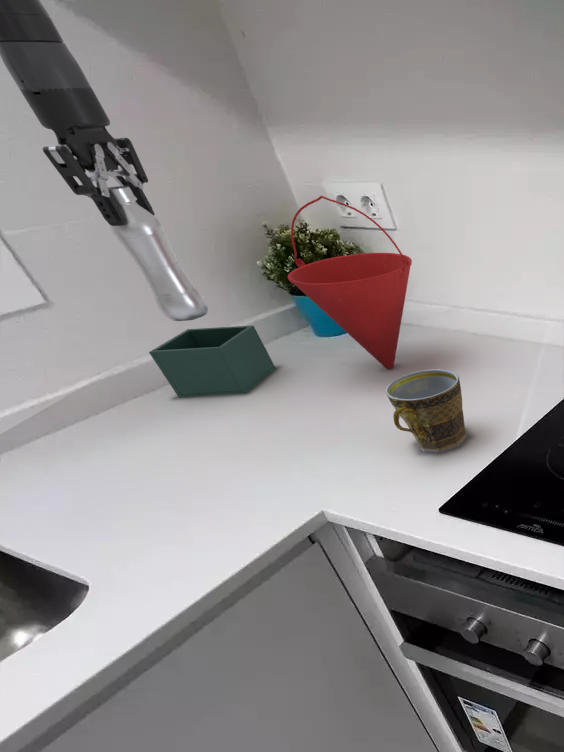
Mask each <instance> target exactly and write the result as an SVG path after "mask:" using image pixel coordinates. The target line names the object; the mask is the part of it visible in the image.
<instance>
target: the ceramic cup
mask: <svg viewBox="0 0 564 752" xmlns="http://www.w3.org/2000/svg"><path fill="white" fill-rule="evenodd" d="M385 395H386V397H387V398H388V400H389V402H390V403H391V405H392V407H393V408H394V412H393V416H392V417H393V423H394V426H395V427H396V429H398V430H400V431H403V432H409V433H410V434H412V435H413V437H414V439H415V441H416V442H417V444H418V445H419V447H420V449H421V451H423V452H424V453H437V454H441V453H444V452H446V451H449V450H453V449H456V448H458V447H459V446H460V445H461V444H462V443H463V442H464V441H465V440H466V438H467V434H466V427H465V416H464V410H463V395H462V387H461V382H460V377H459V375H458V374H457V373H456V372H453V371H451V370H447V369H439V368H438V369H424V370H418V371H414V372H410V373H407V374H405V375H402V376H400V377H398V378H396V379H394V380H392V381H391V382H390V383H389V384H388V385H387V386H386V388H385ZM400 418H401V419H402V420H403V422H404V423H405V424H406V427H408V428H406V427H403V426H401V424H400Z"/></svg>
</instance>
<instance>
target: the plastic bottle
mask: <svg viewBox="0 0 564 752" xmlns="http://www.w3.org/2000/svg"><path fill="white" fill-rule="evenodd" d="M107 187H108V191H109V197H112V198H113V199H114V201H115V203H116V205H117V206H118V208H119V210H120V211H121V213H122V215H123V216H124V218H125V220H126V222H127V224H126V225H122V226H111V225H110V224H109V223H108V225H109V228H110V231H111V233H112V234H113V235H114V236H115V237H116V239H117V240H118V241H119V242H120V244H121V245H122V246H123V247H124V249H125V250H126V251H127V253H128V254H129V255H130V257H131V258H132V260H133V261H134V263H135V264H136V265H137V266H138V269H139V270H140V272H142V275H143V277H144V279H145V280H146V282H147V284H148V286H149V288H150V291H151V292H152V294H153V298H154V301H155V303H156V305H157V307H158V309H159V310H160V312H162V314H163V315H164V316H165V317H166V318H167V319H169V320H171V321H174V322H185V321H189V322H190V321H194V320H196V319H199V318H202V317H204V316H206V315H207V314H208V310H209V307H208V304H207V301H206V299H205V297H203V295H202V293H201V292H200V291H199V290H198V289H197V287H195V285H194V284H193V282H192V281H191V279H190V277H189V276H188V274H187V273H186V272H185V270H184V269H183V267H182V265H181V263H180V262H179V260H178V259H177V258H178V257H177V256H176V254H175V251H174V250H173V247H172V244H171V243H170V240H169V237H168V235H167V233H166V231H165V227H164V225H163V224H162V222H161V221H160V220H159V219H158V217H156V216H155V215H152V214H151V213H150V212H148V211H147V210H145V209H144V208H142V207H141V206H139V205H138V204H137V202H136V201H135V200H137V198H136V196H134V194H133V192H132V191H131V189H130V188H129V186H120V185H117V186H107Z"/></svg>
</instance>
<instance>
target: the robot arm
mask: <svg viewBox="0 0 564 752" xmlns="http://www.w3.org/2000/svg"><path fill="white" fill-rule="evenodd" d="M64 42H65V41H64V39H63V38H62V36H61V34H60V32H59V30H58V29H57V26H56V25H55V23H54V22H53V19H52V17H51V16H50V14H49V13H48V11H47V9H46V8H45V6H44V4H43V3H42V1H41V0H0V59H1V61H2V63H3V64H4V66H5V67H6V70H7V71H8V73H9V74H10V76H11V78H12V79H13V81H14V84H15V85H16V87H17V88H18V89H19V91H20V93H21V94H22V96H23V97H24V99H25V101H26V102H27V104H28V106H29V108H31V110H32V112H33V114H34V115H35V117H36V119H37V120H38V122H39V123H40V125H41V126H42V127H43V128H45V129H48V130H51V131H52V132H53V133H54V135H55V137H56V140H57V144H56V145H50V146H43V147H42V152H43V153H44V154H45V156H46V158H47V159H48V160H49V162H50V163H51V164H52V165H53V166H54V168H55V170H57V172H58V174H59V175H60V176H61V177H62V179H63V180H64V182H66V184H67V185H68V187H69V188H70V189H71V191H72V192H73V194H75V195H77V196H85V197H87V198H90V199H91V200H92V201H93V203H94V205H95V206H96V207H97V209H98V210H99V212H100V214H101V215H102V218H103V219H104V221H106V222H107V224H108V225H109V224H110V225H111V226H122V225H126V224H127V222H126V220H125V218H124V216H123V215H122V213H121V211H120V210H119V208H118V206H117V205H116V203H115V201H114V199H113V198H112V197H109V191H108V187H109V186H108V183H107V181H108V180H109V177H110V178H113V179H114V180H115V182H117V184H118V186H129V188H130V189H131V191H132V192H133V194H134V196H136V198H137V200H135V201H136V202H137V204H138V205H139V206H141V207H142V208H144V209H145V210H147V211H148V212H150V213H151V214H152V215H154V216H155V211H154V209H153V207H152V205H151V203H150V201H149V199H148V198H147V196H146V194H145V192H144V190H143V189H144V184H146V183H149V178H148V177H147V174H146V171H145V169H144V167H143V165H142V163H141V160H140V158H139V156H138V154H137V151H136V149H135V147H134V145H133V143H132V141H131V139H129V138H128V137H114V136H112V135H111V133H110V132H109V131H108V130H107V128H106V127H109V126H110V125H111V121H110V119H109V117H108V114H107V113H106V112H105V109H104V107H103V106H102V104H101V102H100V101H99V99H98V97H97V94H96V93H95V91H94V89H93V88H92V86H91V84H90V82H89V80H88V79H87V77H86V75H85V73H84V71H83V70H82V68H81V66H80V64H79V62H78V61H77V59H76V58H75V57H74V56H73V53H72V52H71V51H70V49H69V48H68V46H67V45H66V43H64ZM132 166H133V167H132ZM133 171H135V173H133ZM75 178H77V179H78V180H79V181H80V183H81V184H79V183H78V182H77V180H76V179H75ZM93 182H95V184H96V185H95V184H94V183H93ZM110 225H109V226H110Z"/></svg>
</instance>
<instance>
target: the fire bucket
mask: <svg viewBox="0 0 564 752" xmlns="http://www.w3.org/2000/svg"><path fill="white" fill-rule="evenodd" d="M322 199H324V200H326V201H329V202H332V203H335V204H338V205H341V206H343V207H345V208H348V209H351V210H353V211H355V212H357V213H359V214H361V215H362V216H364V217H365V218H367V219H368V220H369V221H370V222H372V223H373V224H375V225H376V226H377V227H378V228H379V229H380V230H381V231H382V232H383V234H385V236H386V237H387V238H388V240H390V241H391V243H392V244H393V246H394V247H395V248H396V250H397V251H398V253H395V252H365V253H354V254H353V253H352V254H346V255H340V256H334V257H330V258H325V259H321V260H316V261H313V262H309V263H305V262H304V260H302V259H301V258H298V251H297V249H296V244H295V238H294V227H295V223H296V220H297V218H298V216H299V214H300V213H301V212H302V211H303V210H304V209H306V208H307V207H309V206H311V205H312V204H314V203H317V202H319V201H320V200H322ZM290 238H291V244H292V248H293V252H294V257H293V258H294V261H295V265H296V266H297V268H295V269H293V270H292V271H290V272H289V273H288V275H287V279H288V281H289V282H290V283H292V284H293V285H294V286H295V287H297V288H298V289H299V290H300V291H301V293H303V294H304V295H305V296H306V297H307V298H309V299H310V300H311V301H312V302H313V303H314V304H315V305H316V306H317V307H318V308H319V309H320V310H322V311H323V312H324V313H325V314H326V315H327V316H328V317H329V318H330V319H332V320H333V321H334V322H335V323H336V324H337V325H338V326H339V327H340V328H341V329H342V330H343V331H344V332H345V333H347V334H348V335H349V336H350V337H351V338H352V339H353V340H354V341H356V342H357V344H359V345H360V346H361V347H362V348H363V349H364V350H365V351H367V352H368V354H370V355H371V356H372V357H373V358H374V359H375V360H376V361H377V362H378V363H379V364H380V365H381V366H382V367H384V368H385V369H386V370H393V369H394V367H395V362H396V356H397V355H396V353H397V349H398V343H399V337H400V331H401V325H402V319H403V313H404V307H405V301H406V295H407V289H408V285H409V277H410V272H411V266H412V263H413V259H412V258H411V257H410V256H408V255H406V254H403V253H402V251H401V250H400V248H399V246H398V245H397V243H396V242H395V241H394V239H393V238H392V237H391V236H390V234H388V232H386V230H385V228H383V227H382V226H381V225H380V224H379V223H378V222H376V220H375V219H373V218H371V217H370V216H368V215H367V214H366V213H365V212H362V211H361V210H359V209H357V208H356V207H354V206H351V205H349V204H346V203H343V202H341V201H337V200H335V199H331V198H329V197H327V196H324V195H320V196H318V197H317V198H316V199H313V200H311V201H309V202H307V203H305V204H304V205H302V206H301V207H299V209H298V210H297V212H296V213H295V215H294V216H293V218H292V221H291V227H290Z"/></svg>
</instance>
